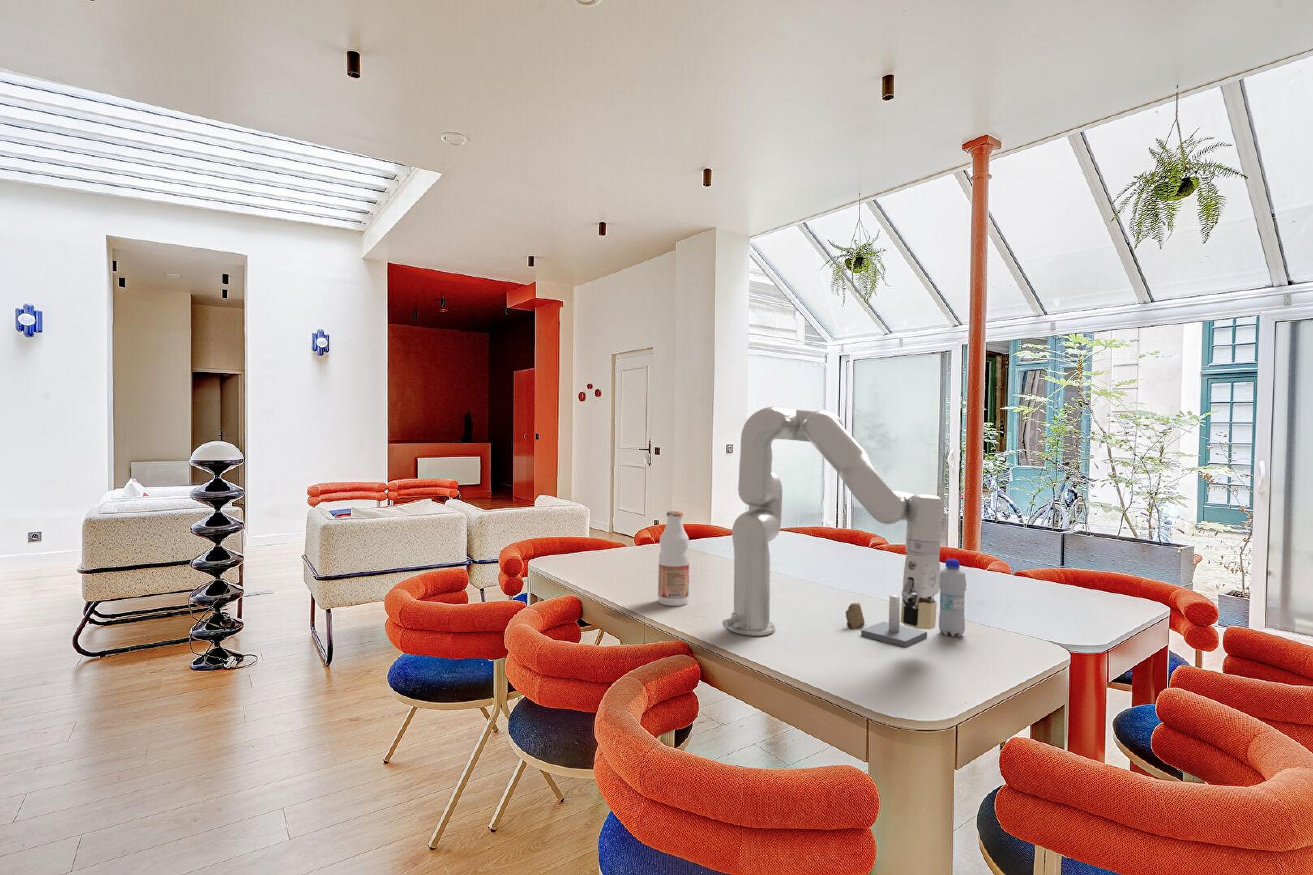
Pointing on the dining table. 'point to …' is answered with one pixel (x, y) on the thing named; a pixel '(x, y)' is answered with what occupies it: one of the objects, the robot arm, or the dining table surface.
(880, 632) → the stand
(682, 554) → the fruit juice
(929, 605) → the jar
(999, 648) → the dining table surface
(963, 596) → the bottle
